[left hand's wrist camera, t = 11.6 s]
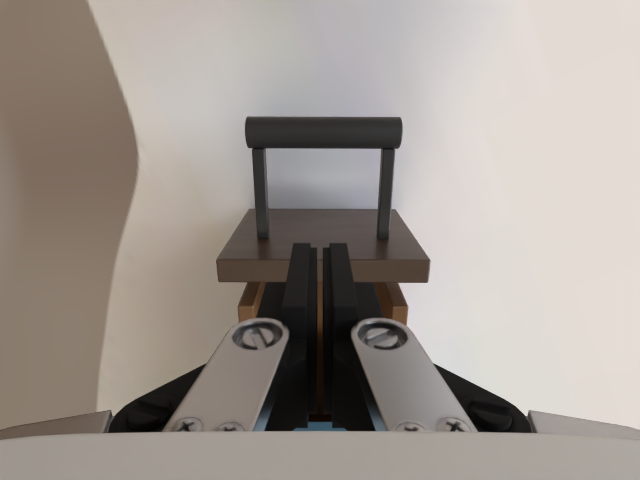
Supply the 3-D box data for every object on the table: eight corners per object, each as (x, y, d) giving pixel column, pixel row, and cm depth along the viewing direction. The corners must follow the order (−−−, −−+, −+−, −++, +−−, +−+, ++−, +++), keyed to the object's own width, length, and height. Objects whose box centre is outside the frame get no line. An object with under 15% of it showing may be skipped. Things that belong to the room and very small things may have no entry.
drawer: (242, 112, 24) (201, 119, 15) (402, 113, 24) (447, 120, 15) (261, 411, 32) (241, 519, 24) (380, 411, 32) (401, 520, 24)
